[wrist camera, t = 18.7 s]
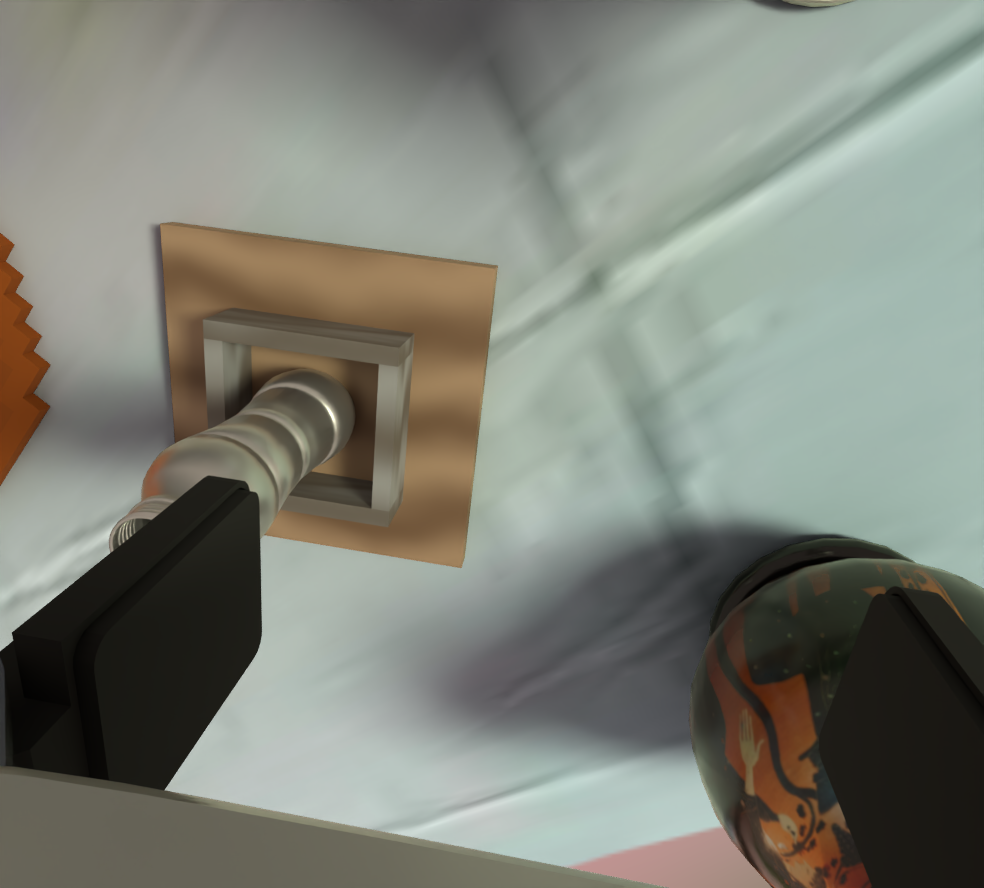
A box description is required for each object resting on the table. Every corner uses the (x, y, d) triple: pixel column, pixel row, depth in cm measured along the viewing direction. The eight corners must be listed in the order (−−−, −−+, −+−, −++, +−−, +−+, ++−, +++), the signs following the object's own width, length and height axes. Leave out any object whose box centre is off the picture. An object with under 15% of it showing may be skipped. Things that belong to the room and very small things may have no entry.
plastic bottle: (372, 444, 48) (243, 611, 30) (283, 452, 50) (104, 619, 31) (352, 355, 46) (199, 476, 28) (259, 366, 47) (53, 490, 29)
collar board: (172, 222, 46) (121, 228, 41) (497, 265, 44) (486, 278, 39) (190, 512, 54) (150, 547, 49) (464, 557, 53) (451, 598, 48)
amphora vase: (814, 438, 46) (1110, 782, 20) (1049, 610, 48) (1583, 1114, 23) (613, 643, 54) (640, 1077, 28) (824, 782, 56) (1027, 1299, 31)
